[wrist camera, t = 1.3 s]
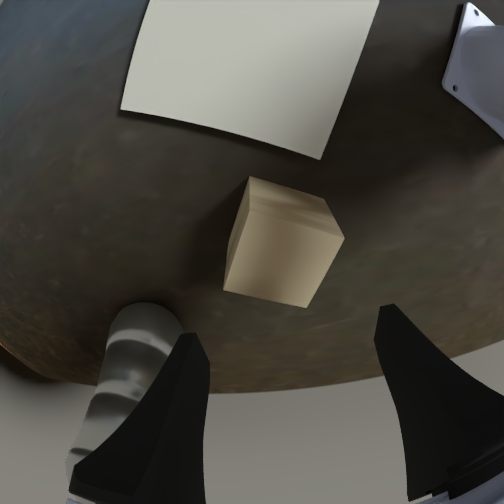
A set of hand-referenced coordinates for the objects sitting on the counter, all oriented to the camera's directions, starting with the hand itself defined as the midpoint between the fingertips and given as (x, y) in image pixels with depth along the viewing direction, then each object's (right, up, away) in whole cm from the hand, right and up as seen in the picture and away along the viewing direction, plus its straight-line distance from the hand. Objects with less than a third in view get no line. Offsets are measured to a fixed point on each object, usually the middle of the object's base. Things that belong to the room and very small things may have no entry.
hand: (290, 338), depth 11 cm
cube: (0, +5, +8) cm, 10 cm away
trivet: (-2, +15, +2) cm, 15 cm away
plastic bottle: (-10, -2, +14) cm, 17 cm away
